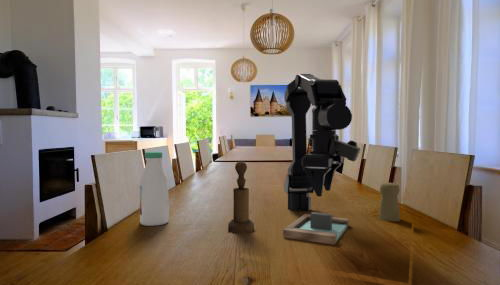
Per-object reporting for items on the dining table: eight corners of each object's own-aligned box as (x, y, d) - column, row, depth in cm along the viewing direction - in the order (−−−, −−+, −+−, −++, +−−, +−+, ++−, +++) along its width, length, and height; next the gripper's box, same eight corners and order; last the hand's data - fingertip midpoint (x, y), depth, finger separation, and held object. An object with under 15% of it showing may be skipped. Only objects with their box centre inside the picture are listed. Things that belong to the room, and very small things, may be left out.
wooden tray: (283, 240, 79) (283, 229, 79) (304, 223, 94) (304, 213, 94) (334, 248, 74) (334, 236, 73) (348, 228, 89) (348, 218, 89)
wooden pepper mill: (257, 229, 88) (257, 161, 87) (249, 237, 81) (249, 163, 81) (233, 227, 90) (233, 160, 89) (224, 234, 84) (223, 162, 83)
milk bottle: (174, 221, 96) (173, 151, 96) (156, 227, 89) (155, 152, 89) (153, 218, 100) (152, 150, 99) (133, 224, 93) (133, 152, 92)
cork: (403, 224, 92) (403, 185, 92) (379, 223, 94) (380, 184, 93) (398, 219, 98) (398, 181, 98) (376, 218, 99) (376, 181, 99)
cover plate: (293, 236, 80) (293, 217, 80) (309, 222, 92) (309, 206, 92) (335, 242, 75) (335, 222, 75) (346, 227, 87) (347, 210, 87)
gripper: (351, 129, 71) (351, 203, 72) (362, 130, 88) (362, 190, 88) (300, 130, 76) (300, 198, 76) (320, 130, 93) (320, 187, 93)
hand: (323, 193), depth 83 cm, fingers open, 9 cm apart
